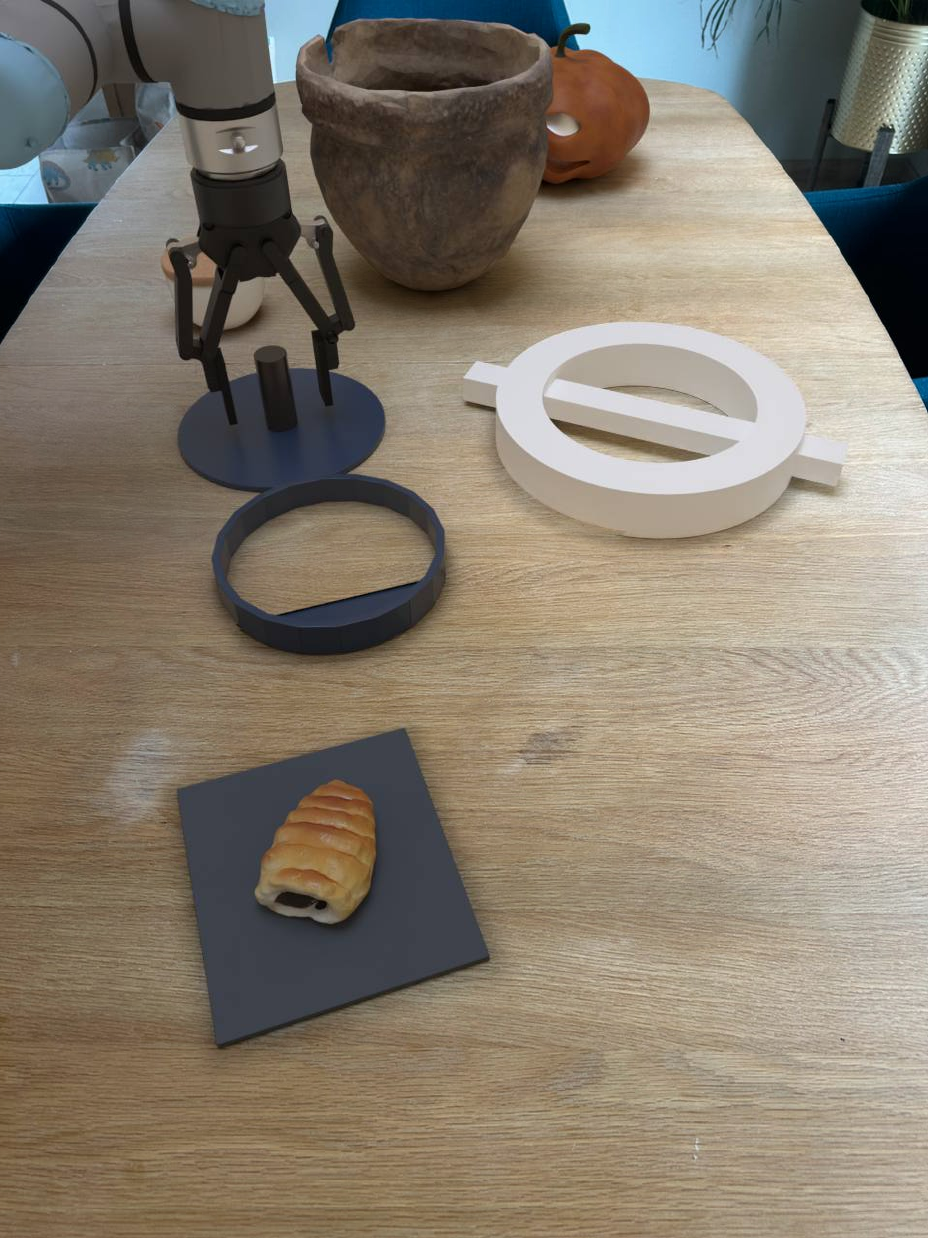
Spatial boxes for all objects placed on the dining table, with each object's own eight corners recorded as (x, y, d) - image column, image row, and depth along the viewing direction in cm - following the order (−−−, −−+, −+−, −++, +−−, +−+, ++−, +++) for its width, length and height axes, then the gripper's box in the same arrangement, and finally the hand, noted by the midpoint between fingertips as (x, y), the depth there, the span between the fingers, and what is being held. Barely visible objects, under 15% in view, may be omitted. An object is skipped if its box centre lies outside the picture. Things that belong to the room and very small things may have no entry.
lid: (168, 399, 101) (147, 320, 95) (357, 363, 106) (349, 286, 99) (195, 517, 88) (173, 434, 82) (410, 471, 92) (405, 389, 86)
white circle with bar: (453, 397, 101) (452, 354, 97) (696, 341, 107) (703, 300, 104) (572, 572, 82) (576, 527, 79) (857, 492, 89) (872, 448, 86)
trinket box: (158, 335, 110) (136, 254, 103) (205, 291, 117) (189, 211, 111) (244, 351, 108) (229, 268, 101) (288, 304, 115) (276, 224, 108)
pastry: (301, 788, 67) (294, 754, 64) (398, 805, 66) (395, 771, 63) (252, 915, 61) (241, 883, 58) (359, 936, 60) (353, 904, 57)
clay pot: (287, 316, 113) (250, 74, 95) (369, 221, 130) (351, 1, 112) (512, 349, 107) (517, 99, 89) (566, 245, 124) (580, 17, 106)
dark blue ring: (204, 527, 87) (197, 500, 85) (409, 483, 91) (407, 455, 89) (240, 680, 75) (233, 652, 72) (476, 621, 78) (475, 592, 76)
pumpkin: (430, 167, 142) (424, 17, 129) (553, 122, 154) (559, -20, 140) (556, 221, 129) (565, 60, 115) (680, 167, 140) (701, 15, 127)
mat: (178, 793, 68) (176, 788, 67) (405, 731, 71) (404, 727, 71) (218, 1048, 55) (216, 1045, 55) (489, 960, 59) (489, 956, 59)
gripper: (102, 200, 74) (171, 452, 90) (379, 160, 78) (397, 407, 94) (95, 163, 79) (161, 407, 95) (356, 127, 83) (377, 367, 99)
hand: (279, 407), depth 95 cm, fingers open, 8 cm apart
